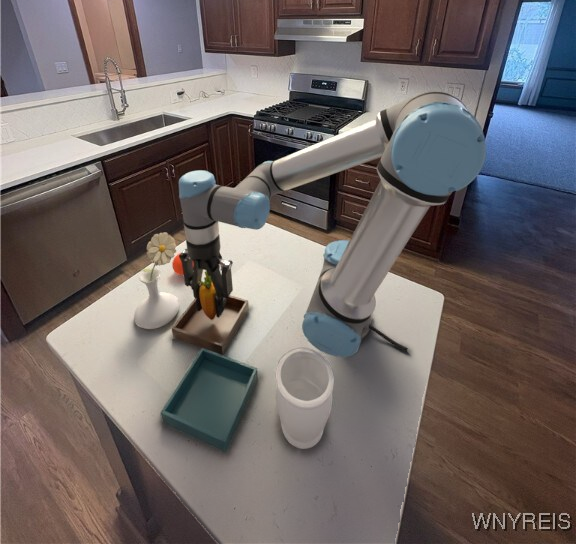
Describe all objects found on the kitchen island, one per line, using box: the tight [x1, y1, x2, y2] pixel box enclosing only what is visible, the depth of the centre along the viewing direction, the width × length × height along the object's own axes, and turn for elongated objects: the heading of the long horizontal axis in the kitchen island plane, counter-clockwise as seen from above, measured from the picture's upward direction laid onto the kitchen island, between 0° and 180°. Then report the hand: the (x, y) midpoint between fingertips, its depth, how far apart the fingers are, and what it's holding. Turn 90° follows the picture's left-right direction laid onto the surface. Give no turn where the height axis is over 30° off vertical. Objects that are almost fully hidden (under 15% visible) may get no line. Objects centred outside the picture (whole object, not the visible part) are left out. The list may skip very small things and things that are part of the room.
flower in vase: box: [133, 231, 180, 330], centre depth 81 cm, size 13×11×25 cm
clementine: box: [172, 252, 194, 276], centre depth 98 cm, size 8×7×7 cm
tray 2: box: [160, 348, 259, 453], centre depth 65 cm, size 14×14×3 cm
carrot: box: [198, 270, 217, 320], centre depth 79 cm, size 5×5×15 cm
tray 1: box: [171, 294, 250, 356], centre depth 82 cm, size 14×14×3 cm
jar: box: [275, 347, 335, 450], centre depth 59 cm, size 11×10×15 cm
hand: (211, 309), depth 81 cm, fingers closed on carrot, 5 cm apart
